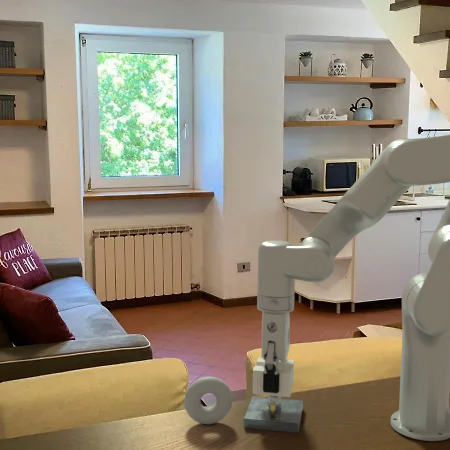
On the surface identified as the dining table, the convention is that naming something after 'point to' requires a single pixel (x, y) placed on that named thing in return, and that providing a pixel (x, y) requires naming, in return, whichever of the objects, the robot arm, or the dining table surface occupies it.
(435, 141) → the robot arm
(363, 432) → the dining table surface
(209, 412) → the donut
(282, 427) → the post base
